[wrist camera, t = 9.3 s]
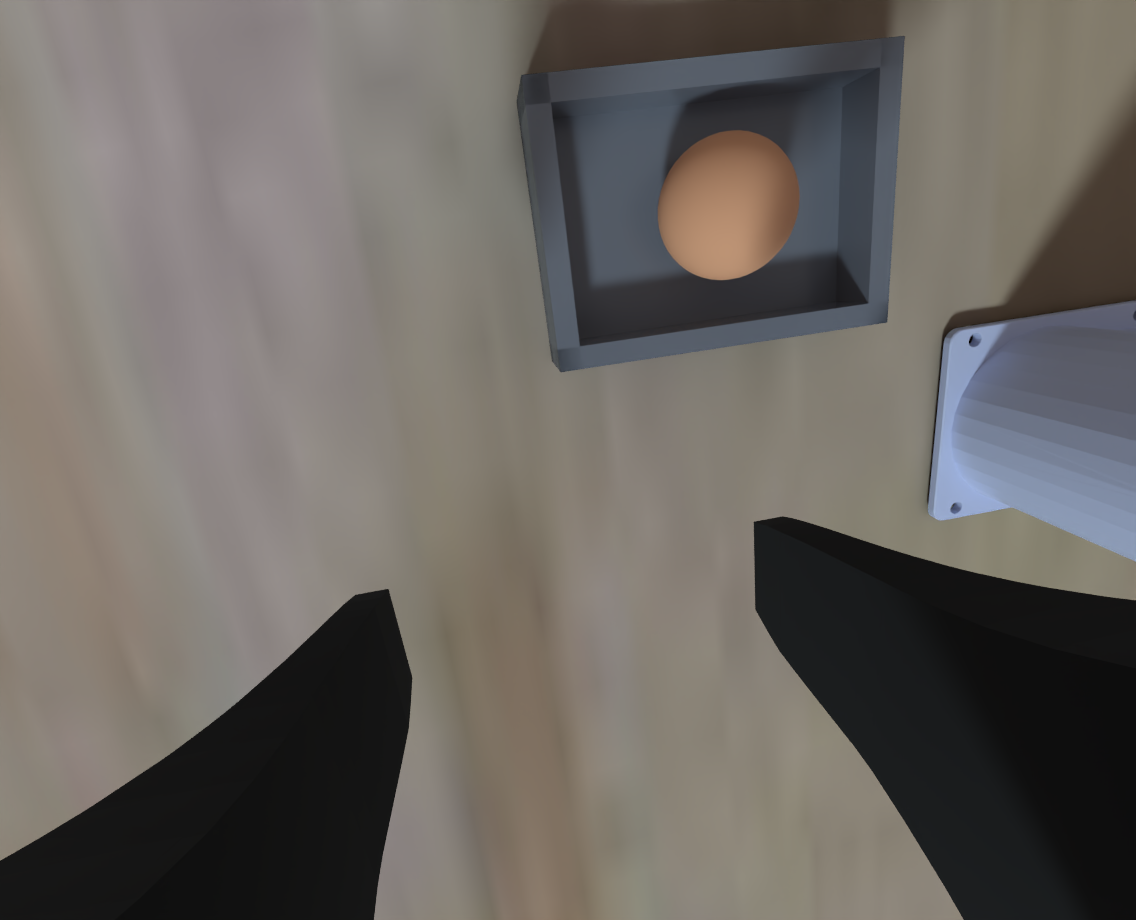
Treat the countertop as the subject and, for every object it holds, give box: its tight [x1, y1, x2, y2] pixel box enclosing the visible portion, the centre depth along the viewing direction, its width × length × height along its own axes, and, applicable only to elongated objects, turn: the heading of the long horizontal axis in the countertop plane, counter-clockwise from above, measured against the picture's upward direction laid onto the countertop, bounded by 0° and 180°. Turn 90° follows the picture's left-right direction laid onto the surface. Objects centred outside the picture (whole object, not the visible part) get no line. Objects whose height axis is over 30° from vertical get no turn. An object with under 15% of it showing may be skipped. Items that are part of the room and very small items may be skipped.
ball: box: [658, 130, 800, 280], centre depth 16 cm, size 4×4×4 cm
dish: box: [517, 36, 905, 372], centre depth 18 cm, size 11×8×2 cm
